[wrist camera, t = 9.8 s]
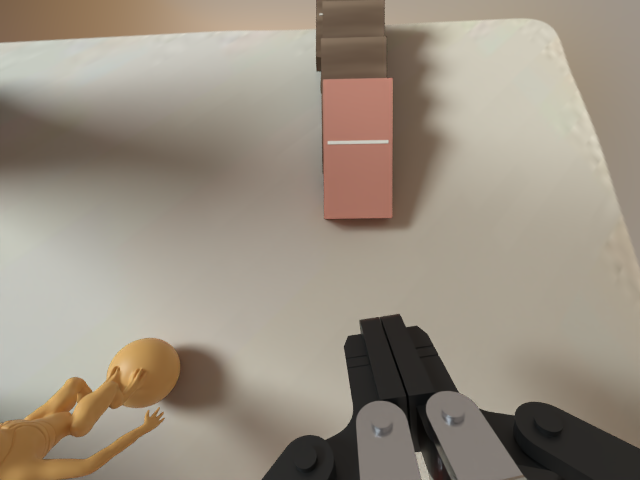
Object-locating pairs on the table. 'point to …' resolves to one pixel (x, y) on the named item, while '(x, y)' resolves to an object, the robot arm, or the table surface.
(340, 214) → the domino
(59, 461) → the figurine
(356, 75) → the domino
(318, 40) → the domino
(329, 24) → the domino
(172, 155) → the table surface
